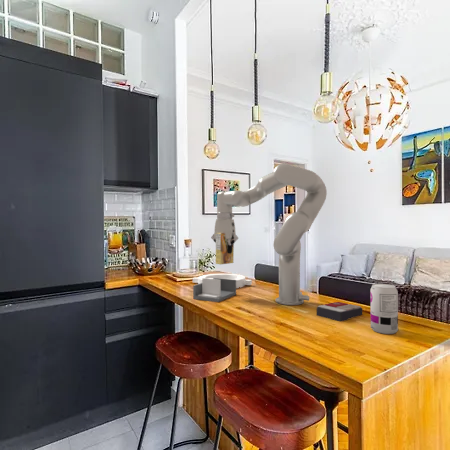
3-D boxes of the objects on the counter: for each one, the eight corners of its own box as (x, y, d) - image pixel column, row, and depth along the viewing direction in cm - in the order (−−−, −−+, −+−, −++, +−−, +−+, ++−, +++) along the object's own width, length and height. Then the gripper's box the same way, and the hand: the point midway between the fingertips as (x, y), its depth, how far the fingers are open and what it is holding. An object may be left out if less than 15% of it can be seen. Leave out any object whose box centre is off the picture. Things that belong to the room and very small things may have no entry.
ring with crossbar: (190, 283, 197) (190, 275, 197) (230, 279, 210) (230, 272, 210) (210, 292, 172) (210, 283, 172) (254, 286, 185) (254, 278, 185)
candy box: (228, 262, 165) (228, 232, 165) (234, 263, 162) (234, 232, 162) (215, 263, 159) (215, 233, 159) (220, 264, 156) (221, 233, 156)
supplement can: (366, 330, 107) (366, 285, 107) (376, 325, 113) (375, 282, 113) (392, 336, 101) (392, 289, 101) (401, 330, 107) (401, 285, 107)
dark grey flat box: (362, 305, 126) (341, 310, 117) (362, 316, 126) (341, 322, 117) (338, 300, 135) (316, 304, 126) (337, 311, 135) (315, 315, 126)
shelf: (236, 294, 164) (236, 275, 164) (218, 302, 148) (218, 281, 148) (212, 291, 170) (212, 274, 170) (193, 298, 155) (193, 279, 155)
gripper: (243, 216, 159) (243, 253, 159) (213, 216, 168) (213, 251, 168) (236, 216, 153) (236, 254, 153) (206, 216, 161) (206, 252, 161)
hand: (224, 252), depth 160 cm, fingers closed on candy box, 5 cm apart
